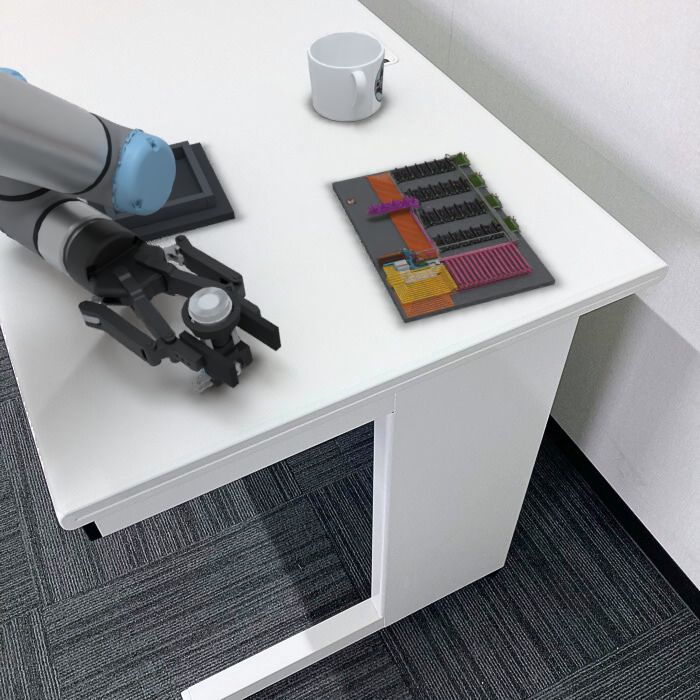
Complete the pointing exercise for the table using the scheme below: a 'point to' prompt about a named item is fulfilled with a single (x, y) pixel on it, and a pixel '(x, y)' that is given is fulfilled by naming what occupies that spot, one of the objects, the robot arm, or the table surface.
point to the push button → (216, 328)
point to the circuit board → (439, 237)
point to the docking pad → (181, 199)
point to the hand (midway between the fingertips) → (255, 357)
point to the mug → (346, 75)
